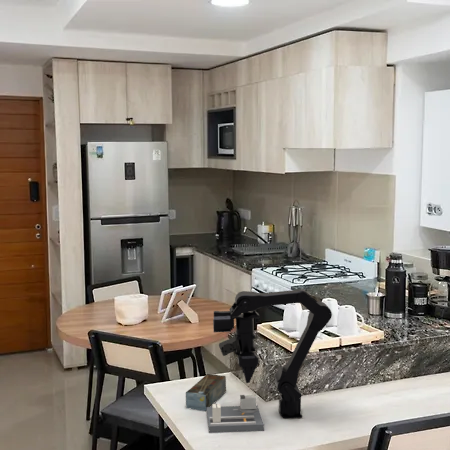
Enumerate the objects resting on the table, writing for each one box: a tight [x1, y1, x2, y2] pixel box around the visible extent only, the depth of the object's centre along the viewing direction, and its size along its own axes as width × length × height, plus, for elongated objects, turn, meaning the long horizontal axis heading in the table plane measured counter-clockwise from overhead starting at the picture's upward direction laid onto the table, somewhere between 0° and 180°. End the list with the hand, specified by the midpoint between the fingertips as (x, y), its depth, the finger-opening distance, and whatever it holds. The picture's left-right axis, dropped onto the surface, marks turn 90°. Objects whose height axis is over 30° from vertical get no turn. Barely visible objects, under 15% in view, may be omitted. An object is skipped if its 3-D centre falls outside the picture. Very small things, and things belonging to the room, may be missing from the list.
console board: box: [206, 404, 265, 434], centre depth 200 cm, size 17×15×3 cm
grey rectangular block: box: [239, 394, 257, 410], centre depth 205 cm, size 5×2×4 cm, turn 95°
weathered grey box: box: [185, 373, 227, 412], centre depth 218 cm, size 8×19×7 cm, turn 159°
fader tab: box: [211, 403, 222, 423], centre depth 195 cm, size 2×3×5 cm
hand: (246, 377), depth 204 cm, fingers open, 9 cm apart
